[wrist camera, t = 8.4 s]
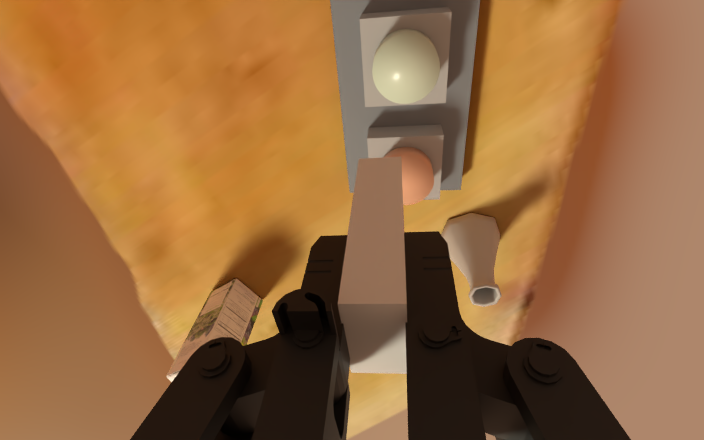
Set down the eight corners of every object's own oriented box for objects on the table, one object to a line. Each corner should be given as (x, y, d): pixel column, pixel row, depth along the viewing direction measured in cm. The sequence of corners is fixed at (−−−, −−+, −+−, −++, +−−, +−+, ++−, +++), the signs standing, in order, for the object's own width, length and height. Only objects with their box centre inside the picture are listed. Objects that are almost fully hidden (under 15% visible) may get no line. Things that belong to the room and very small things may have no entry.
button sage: (372, 26, 32) (370, 36, 28) (436, 21, 31) (442, 31, 28) (375, 88, 35) (373, 105, 31) (433, 85, 34) (438, 102, 31)
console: (318, -153, 27) (307, -167, 24) (492, -177, 26) (508, -195, 22) (351, 183, 44) (347, 205, 40) (458, 180, 42) (464, 202, 39)
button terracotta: (377, 137, 37) (376, 157, 34) (431, 135, 37) (435, 155, 34) (379, 183, 41) (378, 205, 37) (429, 181, 40) (432, 204, 37)
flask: (502, 209, 44) (527, 269, 36) (497, 255, 49) (517, 318, 41) (439, 213, 45) (449, 272, 37) (439, 258, 50) (448, 319, 42)
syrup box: (238, 312, 60) (201, 402, 48) (209, 289, 57) (163, 379, 46) (263, 299, 57) (231, 391, 46) (235, 275, 55) (193, 366, 43)
